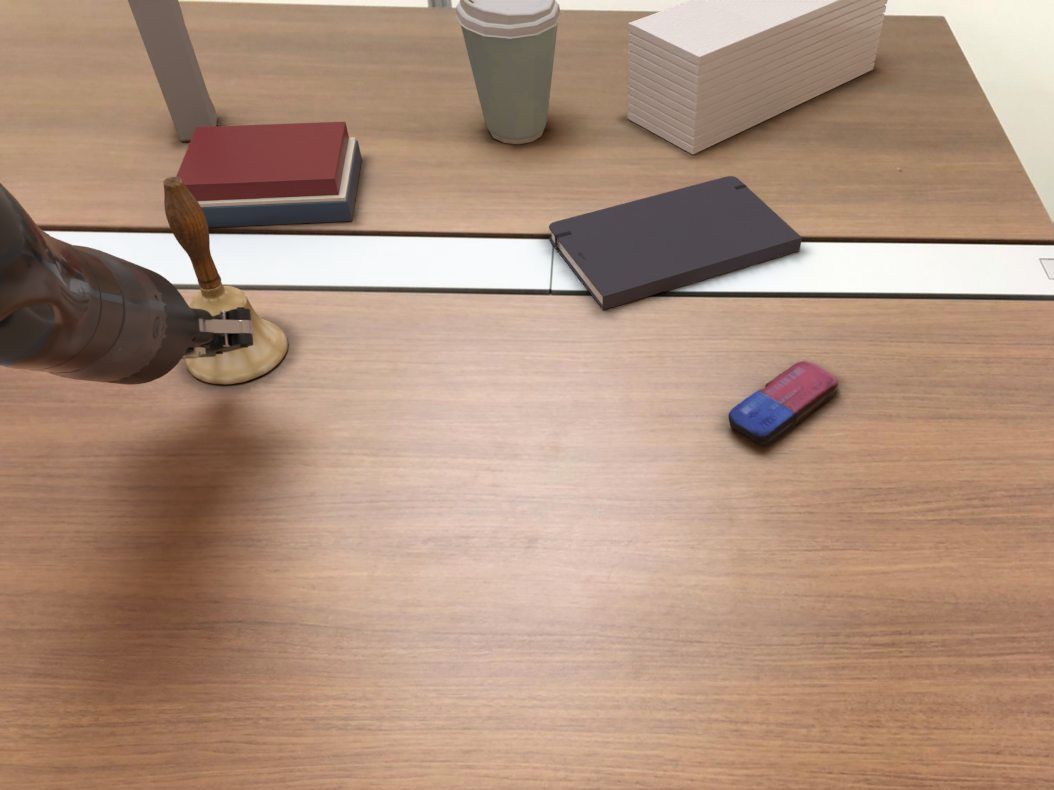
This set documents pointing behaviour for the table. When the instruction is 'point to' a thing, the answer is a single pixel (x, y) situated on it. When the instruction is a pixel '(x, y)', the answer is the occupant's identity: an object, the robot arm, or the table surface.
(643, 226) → the notebook
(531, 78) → the disposable coffee cup
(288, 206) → the book stack
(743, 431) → the eraser
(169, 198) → the hand bell
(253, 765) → the table surface
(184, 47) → the tall grey plank
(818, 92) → the stack of papers
